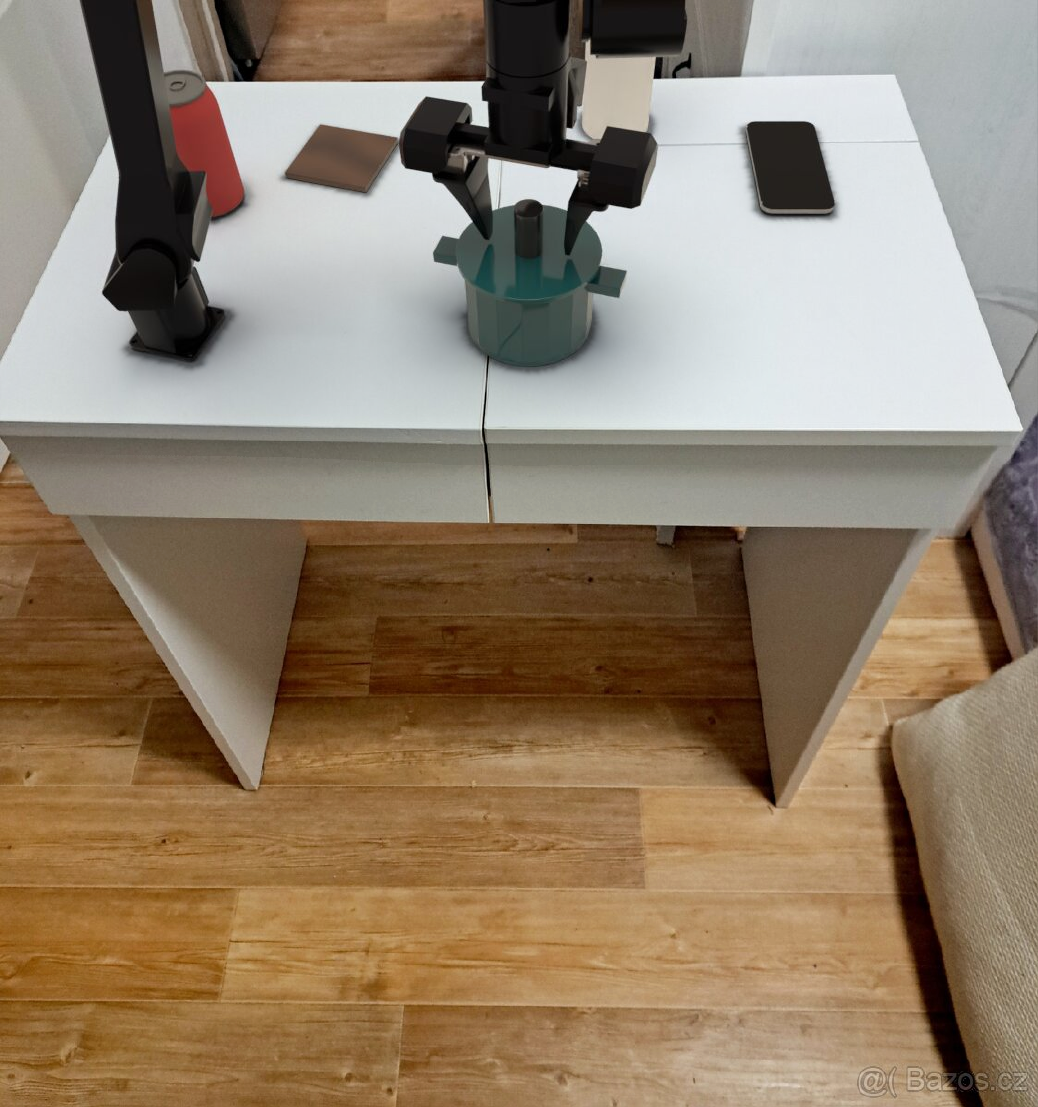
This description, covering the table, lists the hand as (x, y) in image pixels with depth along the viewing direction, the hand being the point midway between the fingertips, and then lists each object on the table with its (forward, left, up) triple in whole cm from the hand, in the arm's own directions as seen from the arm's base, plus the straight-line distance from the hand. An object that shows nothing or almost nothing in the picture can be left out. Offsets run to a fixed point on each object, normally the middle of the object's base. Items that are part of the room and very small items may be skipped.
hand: (528, 244), depth 76 cm
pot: (0, 0, -8) cm, 8 cm away
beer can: (+8, +36, -9) cm, 38 cm away
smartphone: (+29, -19, -9) cm, 36 cm away
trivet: (+18, +26, -8) cm, 33 cm away
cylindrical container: (+32, 0, -9) cm, 33 cm away
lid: (0, 0, -1) cm, 1 cm away
